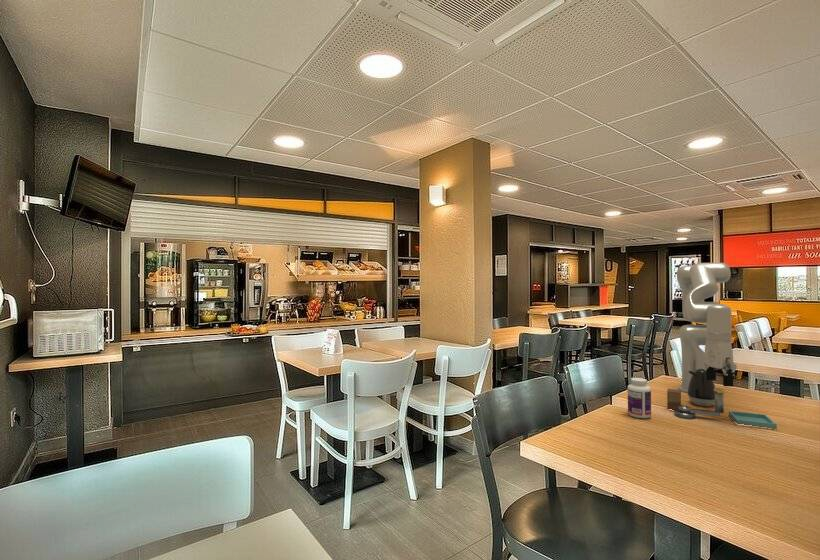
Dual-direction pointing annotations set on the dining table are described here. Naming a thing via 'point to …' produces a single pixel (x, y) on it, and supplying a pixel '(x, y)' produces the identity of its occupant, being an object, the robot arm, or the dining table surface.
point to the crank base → (684, 415)
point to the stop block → (673, 399)
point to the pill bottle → (639, 398)
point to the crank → (718, 409)
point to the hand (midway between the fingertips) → (719, 383)
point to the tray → (752, 419)
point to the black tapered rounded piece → (701, 389)
